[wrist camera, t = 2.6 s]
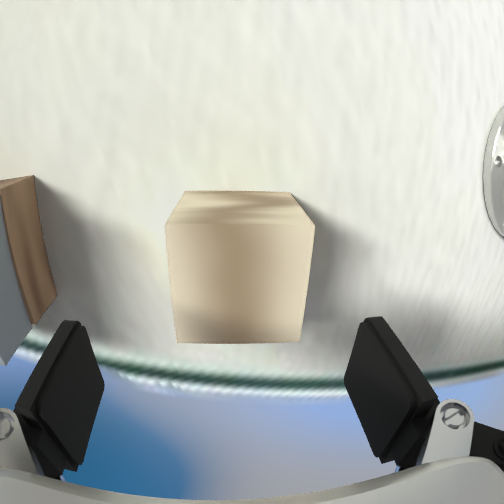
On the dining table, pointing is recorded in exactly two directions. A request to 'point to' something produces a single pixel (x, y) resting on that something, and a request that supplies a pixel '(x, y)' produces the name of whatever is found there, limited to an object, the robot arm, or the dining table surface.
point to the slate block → (10, 303)
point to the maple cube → (238, 266)
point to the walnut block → (27, 245)
